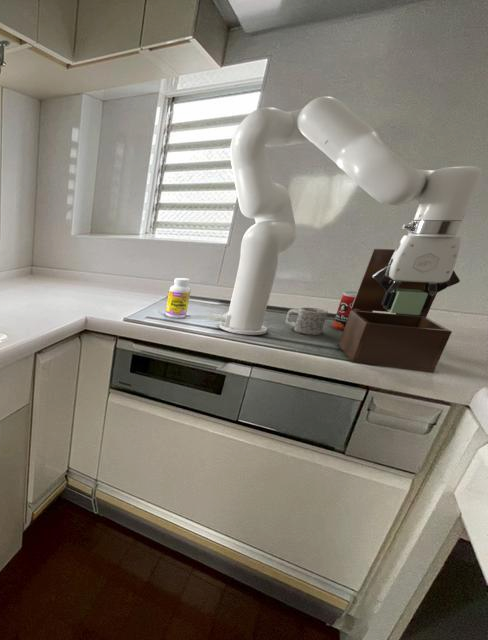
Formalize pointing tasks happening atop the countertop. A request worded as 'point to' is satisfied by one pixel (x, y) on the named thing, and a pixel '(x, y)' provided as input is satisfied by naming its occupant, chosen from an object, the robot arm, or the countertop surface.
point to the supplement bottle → (178, 298)
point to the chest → (394, 340)
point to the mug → (308, 320)
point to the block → (408, 301)
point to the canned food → (345, 310)
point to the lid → (373, 292)
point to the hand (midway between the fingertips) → (402, 309)
